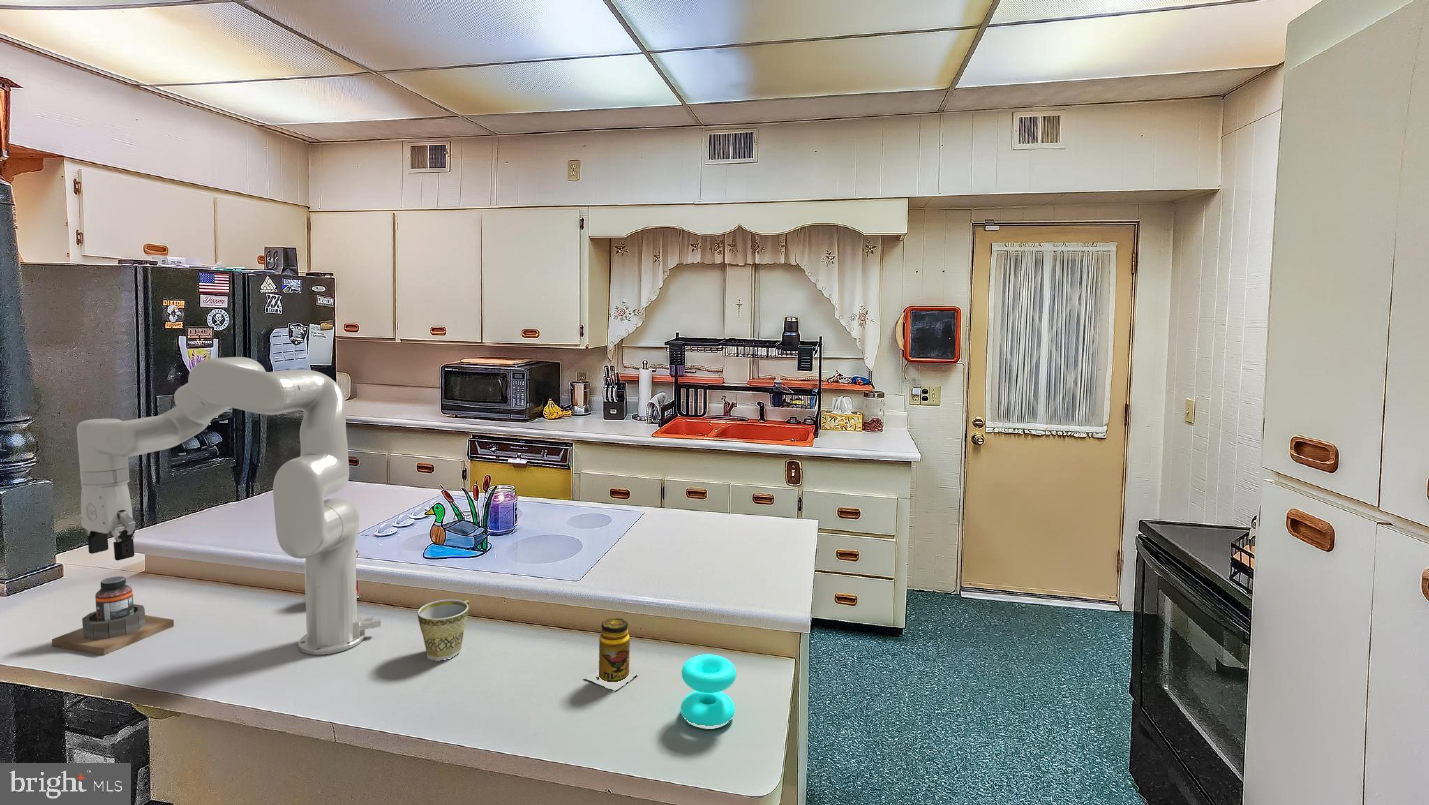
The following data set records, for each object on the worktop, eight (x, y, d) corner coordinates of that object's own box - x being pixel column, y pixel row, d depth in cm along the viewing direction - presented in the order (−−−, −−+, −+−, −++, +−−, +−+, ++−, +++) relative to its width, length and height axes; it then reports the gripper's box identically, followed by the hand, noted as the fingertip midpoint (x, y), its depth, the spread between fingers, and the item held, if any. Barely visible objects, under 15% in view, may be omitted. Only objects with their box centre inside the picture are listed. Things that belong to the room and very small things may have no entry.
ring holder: (125, 618, 150) (124, 597, 149) (173, 626, 147) (172, 604, 146) (52, 646, 136) (50, 623, 136) (104, 655, 133) (102, 632, 133)
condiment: (616, 692, 126) (617, 633, 125) (582, 679, 130) (583, 622, 129) (638, 676, 132) (639, 619, 131) (605, 664, 136) (606, 609, 135)
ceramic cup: (445, 669, 132) (445, 622, 131) (407, 660, 135) (406, 614, 134) (487, 641, 144) (487, 598, 143) (451, 633, 148) (450, 591, 146)
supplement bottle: (97, 628, 141) (93, 578, 140) (133, 620, 145) (130, 572, 144) (97, 638, 137) (94, 586, 136) (135, 630, 141) (132, 579, 140)
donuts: (670, 664, 118) (707, 646, 125) (668, 716, 119) (705, 695, 126) (711, 685, 111) (747, 665, 118) (709, 740, 112) (745, 716, 119)
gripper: (60, 476, 138) (67, 554, 139) (106, 485, 131) (113, 567, 133) (104, 469, 144) (110, 544, 146) (150, 477, 138) (156, 555, 140)
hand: (111, 555), depth 140 cm, fingers open, 9 cm apart
